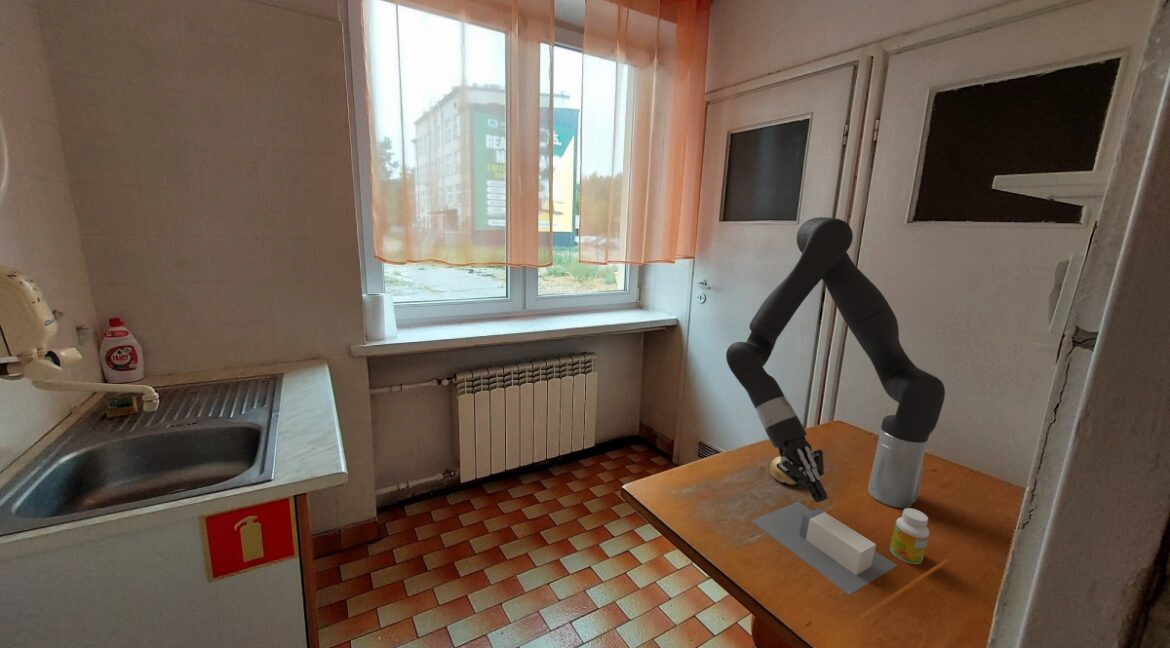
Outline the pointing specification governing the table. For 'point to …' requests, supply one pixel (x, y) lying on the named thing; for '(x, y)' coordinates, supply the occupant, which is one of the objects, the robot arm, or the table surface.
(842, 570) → the mat
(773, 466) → the onion
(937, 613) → the table surface
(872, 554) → the tall block
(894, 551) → the supplement bottle
